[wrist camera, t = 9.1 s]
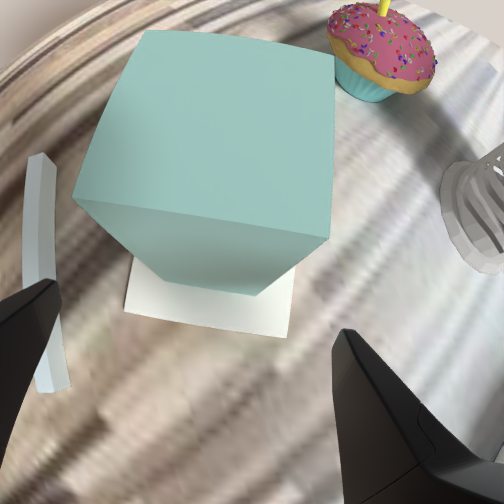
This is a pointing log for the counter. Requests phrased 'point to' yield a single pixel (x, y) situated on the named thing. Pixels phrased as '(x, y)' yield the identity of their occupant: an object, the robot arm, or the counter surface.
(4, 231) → the counter surface
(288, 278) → the resting pad
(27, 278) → the acrylic strip
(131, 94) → the sage block
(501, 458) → the ramekin
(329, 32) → the cupcake
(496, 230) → the french press
